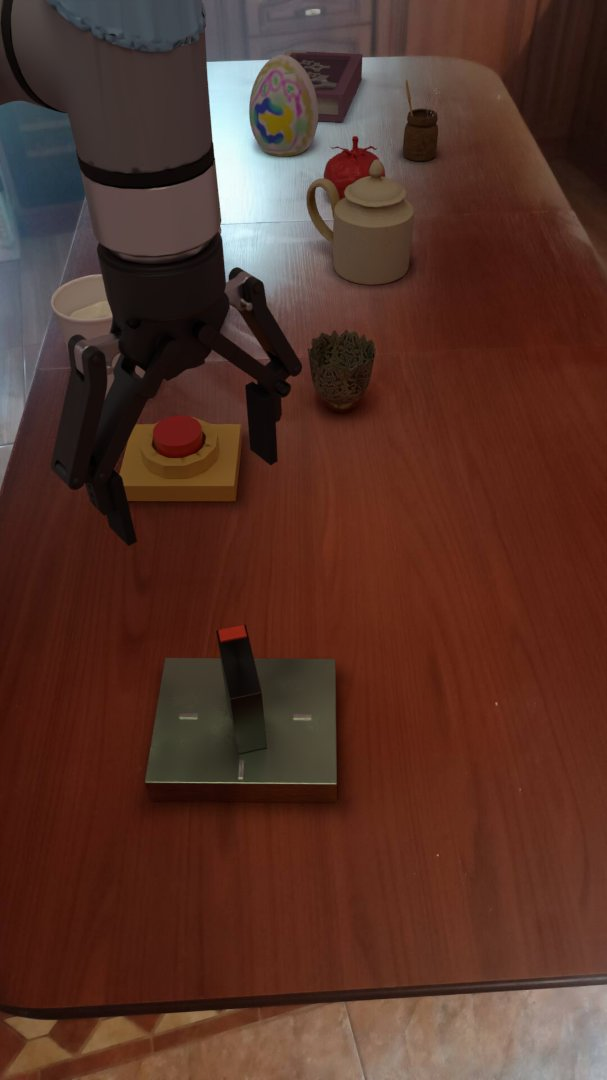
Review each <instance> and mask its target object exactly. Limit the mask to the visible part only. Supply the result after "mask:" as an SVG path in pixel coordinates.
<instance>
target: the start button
mask: <svg viewBox="0 0 607 1080" xmlns="http://www.w3.org/2000/svg"><path fill="white" fill-rule="evenodd" d="M192 417H193V416H189V415H182V414H177V415H171V416H168V417H165V418H163V419H161V420H160V421H157V422H158V423H157V422H156V423H157V424H156V423H155V424H156V426H155V427H154V429H153V438H154V443H155V447H156V450H157V451H158V453H160V454H161V455H162V456H164V457H167V458H184V457H187V456H190V455H193V454H195V453H197V452H198V451H199V450H200V449H201V447H202V445H203V435H202V428H201V425H200V423H199V422H198V421H197V420H196V419H194V418H192Z"/></svg>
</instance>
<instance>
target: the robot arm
mask: <svg viewBox="0 0 607 1080" xmlns="http://www.w3.org/2000/svg"><path fill="white" fill-rule="evenodd" d="M206 27H207V12H206V7H205V5H204V3H203V0H0V106H3V105H7V104H9V103H13V102H26V103H29V104H32V105H35V106H37V107H41V108H45V109H47V110H51V111H54V112H57V113H61V114H67V116H68V121H69V124H70V125H69V126H70V128H71V132H72V137H73V141H74V145H75V152H76V158H77V163H78V166H79V170H80V175H81V180H82V185H83V188H84V189H83V191H84V194H85V195H84V196H85V199H86V205H87V208H88V214H89V218H90V223H91V227H92V233H93V235H94V238H95V240H96V241H97V242H98V244H97V247H96V254H97V259H98V263H99V267H100V274H102V278H103V282H104V287H105V292H106V297H107V300H108V303H109V306H110V309H111V312H112V326H111V329H110V334H107V335H103V336H100V337H97V338H94V339H90V340H87V339H86V338H84V337H83V336H82V335H79V334H78V335H74V336H72V337H71V338H70V339H69V341H68V351H69V356H68V360H69V366H70V373H69V377H68V382H67V387H66V390H65V391H66V392H65V396H64V401H63V406H62V409H61V410H62V411H61V416H60V421H59V424H58V430H57V434H56V439H55V444H54V448H53V453H52V457H51V463H50V468H51V471H52V472H53V473H54V474H55V475H56V476H58V478H59V479H60V480H61V481H62V482H63V483H64V484H65V485H66V486H67V487H68V488H69V489H70V490H72V491H76V490H80V489H81V488H82V487H83V486H84V485H85V489H86V492H87V496H88V499H89V502H90V503H91V505H92V506H93V507H95V508H96V509H97V510H98V512H100V513H101V515H102V516H104V517H106V519H107V523H108V527H109V528H110V530H112V531H113V532H114V533H115V535H117V536H118V537H119V538H120V540H121V541H122V542H124V544H126V546H127V547H130V546H132V545H134V544H135V543H137V542H138V539H137V535H136V530H135V526H134V522H133V518H132V513H131V510H130V506H129V501H127V497H126V492H125V488H124V484H123V480H122V477H121V476H120V475H119V474H120V473H119V472H117V471H116V470H115V468H116V466H117V464H118V462H119V459H120V457H121V456H122V454H123V451H124V449H125V448H126V446H127V443H128V439H129V437H130V435H131V433H132V431H133V429H134V427H135V425H136V424H138V423H137V422H138V420H139V419H140V416H141V414H142V412H143V410H144V408H145V407H146V404H147V402H148V400H150V399H151V400H152V399H154V398H155V397H156V396H157V393H158V392H159V390H160V387H161V385H162V383H163V381H164V380H165V381H167V382H169V381H171V380H173V379H175V378H177V377H179V376H180V375H181V374H183V373H184V372H185V371H186V370H191V369H196V368H198V367H201V366H203V365H204V364H206V359H207V358H208V357H209V356H210V355H211V353H212V351H213V352H215V353H216V354H218V355H219V356H221V357H222V358H224V359H225V360H226V361H228V362H229V363H231V364H232V365H234V366H235V367H236V368H238V369H239V370H241V371H242V372H243V373H245V374H246V375H248V376H250V378H253V380H255V381H256V382H254V381H251V382H248V383H247V384H245V385H244V388H245V389H244V390H245V398H246V401H245V402H246V411H247V412H246V414H247V428H248V440H249V441H248V442H249V450H250V451H251V452H252V453H254V454H255V455H256V456H257V457H259V458H260V459H262V460H263V461H264V462H265V463H267V464H268V465H269V466H272V465H274V464H276V463H277V462H279V460H278V442H277V441H278V440H277V423H278V422H279V421H280V422H281V418H282V415H283V409H282V399H283V398H286V397H287V396H288V395H289V394H290V393H291V390H292V384H291V383H289V382H288V381H286V380H287V379H289V378H290V377H292V378H295V377H298V376H299V375H300V374H301V372H302V370H303V364H302V362H301V360H300V359H299V356H298V355H297V354H296V351H295V350H294V348H293V346H292V345H291V343H290V342H289V340H288V338H287V337H286V335H285V333H284V331H283V330H282V329H281V326H280V325H279V323H278V322H277V320H276V318H275V316H274V315H273V313H272V311H271V310H270V308H269V307H268V303H267V297H266V296H267V295H266V289H265V284H264V282H263V281H262V280H261V279H259V278H257V277H256V276H254V275H252V274H251V273H249V272H247V271H246V270H244V269H243V268H241V267H239V266H237V267H233V268H232V269H231V270H230V271H229V274H228V281H227V279H226V278H227V277H226V267H225V254H224V243H223V237H222V234H221V235H220V233H219V232H218V231H219V229H220V227H221V225H222V214H221V213H222V212H221V205H220V203H221V201H220V194H219V184H218V183H219V182H218V174H217V164H216V156H215V146H214V142H213V129H212V127H213V126H212V117H211V115H212V114H211V103H210V90H209V89H210V88H209V77H208V62H207V44H206V43H207V42H206V41H207V40H206ZM230 307H232V308H234V309H236V310H237V312H238V313H239V315H240V316H241V318H242V319H243V320H244V322H245V323H246V324H245V325H247V327H248V329H249V330H250V331H251V333H252V335H253V336H254V338H255V339H256V341H257V342H258V344H259V345H260V347H261V348H262V350H263V351H264V353H265V354H266V356H267V358H268V359H269V361H268V363H266V364H265V365H264V364H263V363H262V362H260V361H259V360H257V359H256V358H255V357H254V356H252V355H251V354H250V353H248V352H247V351H245V350H244V349H243V348H241V347H240V346H238V345H237V344H236V343H235V342H233V341H232V340H230V339H229V338H228V337H226V336H225V335H223V334H222V333H221V330H222V328H223V325H224V323H225V321H226V318H227V316H228V314H229V312H230ZM119 353H121V354H120V356H119V358H118V361H117V363H116V365H115V367H114V369H113V367H112V361H113V359H114V357H115V356H116V355H117V354H119ZM136 366H138V367H140V368H141V369H142V370H144V371H145V374H144V376H143V378H141V377H140V376H139V375H138V374H136V372H135V368H136ZM112 373H113V374H114V381H113V383H112V385H111V387H110V389H109V392H108V394H107V396H106V398H105V395H106V390H107V375H110V374H112Z"/></svg>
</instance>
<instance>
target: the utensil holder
mask: <svg viewBox="0 0 607 1080" xmlns="http://www.w3.org/2000/svg"><path fill="white" fill-rule="evenodd" d="M405 88H406V89H405V90H406V96H407V102H408V107H409V111H408V113H407V117H406V121H407V123H406V124H405V126H404V131H403V141H402V154H403V156H404V158H405V159H407V160H410V161H414V162H426V161H427V162H428V161H430V160H432V159H434V158H435V156H436V154H437V148H438V139H439V126H438V124H437V122H438V110H439V109H440V106H441V104H442V102H440V101H442V100H443V98H441V97H439V98H438V102H437V105H436V108H435V110H433V107H434V103H435V99H436V97H437V94H438V91H439V96H442V94H443V92H442V91H441V90H440V89H439V88H432V91H430V92H429V93H428V96H427V100H426V101H428V102H425V103H426V105H425V106H426V107H428V106H429V105H430V104H429V103H430V101H431V98H430V97H432V96H433V93H434V92H435V96H434V99H433V102H432V106H431V109H430V108H414V109H413V107H412V100H411V99H412V98H411V92H410V86H409V82H408V79H406V80H405ZM440 99H441V100H440ZM439 103H440V104H439Z"/></svg>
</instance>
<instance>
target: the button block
mask: <svg viewBox="0 0 607 1080" xmlns="http://www.w3.org/2000/svg"><path fill="white" fill-rule="evenodd" d="M191 417H192V418H194V419H196V420H197V421H198V422H199V423H200V425H201V428H202V435H203V445H202V447H201V449H200V450H199V451H198V452H197V453H195V454H193V455H190V456H187V457H184V458H167V457H164V456H162V455H161V454H160V453H158V451H157V450H156V447H155V443H154V438H153V429H154V427H155V426H156V424H157V423H158V422H159V421H157V422H155V423H136V425H135V427H134V429H133V431H132V433H131V435H130V437H129V439H128V441H127V443H126V446H125V450H124V454H123V455H124V456H123V459H122V462H121V467H120V470H119V473H118V474H119V475H120V476H121V477H122V480H123V484H124V488H125V492H126V497H127V501H128V502H236V501H237V494H238V493H237V492H238V484H239V476H240V475H239V474H240V465H241V455H242V447H243V430H242V429H243V428H242V424H241V423H210V422H208V421H205V420H202V419H199V418H197V417H195V416H191Z"/></svg>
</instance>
